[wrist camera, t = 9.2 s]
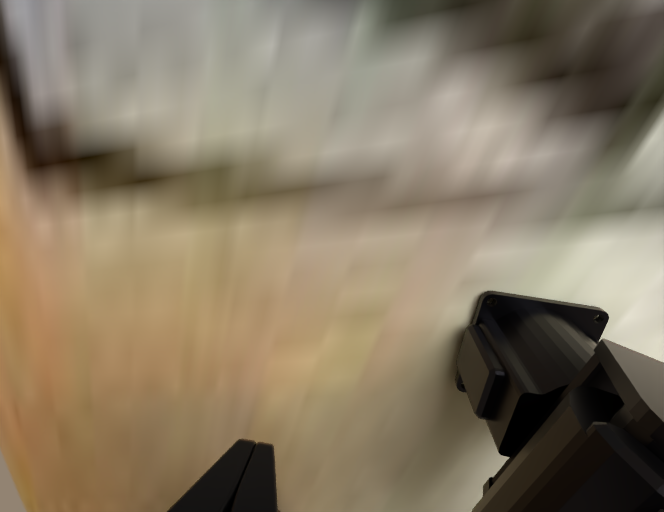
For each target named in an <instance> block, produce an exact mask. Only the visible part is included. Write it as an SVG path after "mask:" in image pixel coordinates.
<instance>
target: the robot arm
mask: <svg viewBox="0 0 664 512" xmlns="http://www.w3.org/2000/svg"><path fill="white" fill-rule="evenodd" d="M490 298H494V301H493V302H492V303H487V301H488V300H489V299H490ZM596 315H599V316H598V318H596V319H593V318H594V317H595V316H596ZM608 319H609V316H608V314H607V313H606V312H605V311H604V310H602V309H601V308H599V307H594V306H587V305H581V304H574V303H568V302H561V301H555V300H548V299H542V298H535V297H529V296H523V295H516V294H510V293H503V292H497V291H487V292H484V293H483V294H482V295H481V297H480V300H479V303H478V306H477V310H476V313H475V316H474V320H473V323H472V324H471V325H469V326H468V327H467V328H466V331H465V335H464V338H463V341H462V345H461V348H460V351H459V355H458V358H457V361H456V364H457V367H458V372H457V375H456V378H455V383H456V386H457V389H458V390H459V391H462V392H466V393H467V394H468V397H469V400H470V402H471V405H472V408H473V410H474V413H475V414H476V416H477V417H478V418H479V419H485V420H486V422H487V424H488V427H489V429H490V432H491V434H492V437H493V439H494V442H495V444H496V447H497V449H498V452H499V453H500V455H503V456H507V457H510V458H509V459H508V460H507V461H506V463H505V464H504V465H503V466H502V468H501V469H500V470H499V471H498V472H497V474H496V475H495V476H494V477H490V478H489V479H488V480H487V482H486V483H485V484H484V486H483V497H482V499H481V500H480V501H479V502H478V503H477V505H476V506H475V507H474V508H473V510H472V512H664V363H663V362H661V361H658V360H656V359H653V358H651V357H648V356H646V355H643V354H641V353H638V352H636V351H633V350H631V349H628V348H626V347H623V346H621V345H618V344H616V343H614V342H611V341H609V340H606V339H602V340H601V341H600V342H599V339H600V337H601V335H602V333H603V331H604V329H605V326H606V324H607V322H608ZM462 383H464V384H462ZM167 512H278V506H277V489H276V473H275V456H274V446H273V445H272V444H269V443H263V442H258V443H257V444H256V442H255V441H252V440H247V439H239V440H238V441H237V442H235V444H234V445H233V446H232V447H231V448H230V449H229V450H228V451H227V452H226V453H225V454H224V455H223V456H222V457H221V458H220V459H219V460H218V461H217V462H216V463H215V464H214V465H213V466H212V467H211V468H210V469H209V470H208V471H207V472H206V473H205V474H204V475H203V476H202V477H201V478H200V479H199V480H198V481H197V482H196V483H195V484H194V485H193V486H192V487H191V488H190V489H189V490H188V491H187V492H186V493H185V494H184V495H183V496H182V497H181V498H180V499H179V500H178V501H177V502H176V503H175V504H174V505H173V506H172V507H171V508H170V509H169V510H168V511H167Z"/></svg>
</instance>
